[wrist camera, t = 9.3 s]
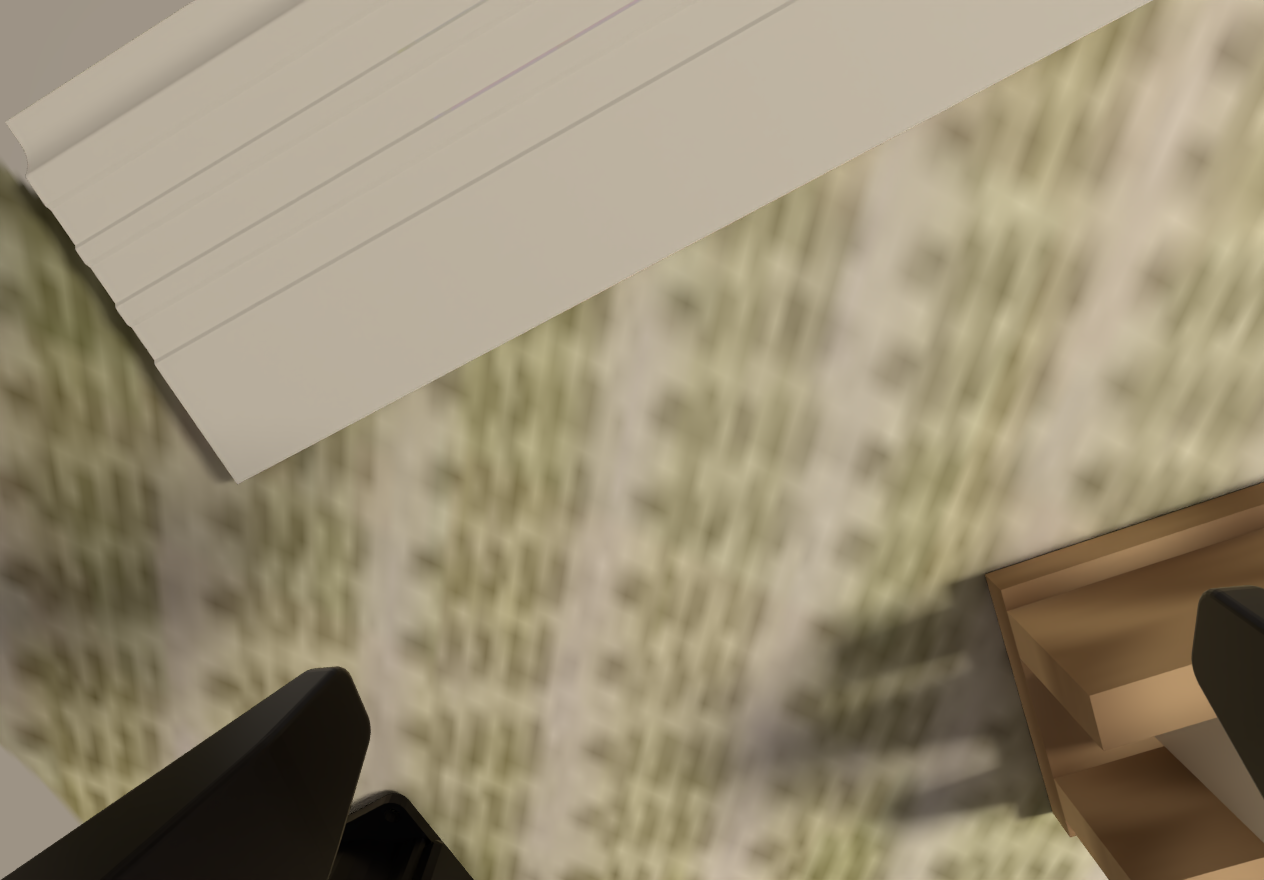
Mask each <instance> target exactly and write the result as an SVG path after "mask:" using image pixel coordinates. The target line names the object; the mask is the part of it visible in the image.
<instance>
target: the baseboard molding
mask: <svg viewBox="0 0 1264 880" xmlns="http://www.w3.org/2000/svg"><path fill="white" fill-rule="evenodd" d="M1150 1H1152V0H194V1H192V2H191V3H189V4H188V5H186V6H185V7H183V8H181V9H180V10H178V11H177V12H175V13H174V14H172V15H171V16H169V17H168V18H166V19H164V20H163V21H161V22H160V23H158V24H157V25H155V26H153V27H152V28H150V29H149V30H147V31H146V32H144V33H142V34H141V35H139V36H138V37H136V38H135V39H133V40H132V41H130V42H129V43H127V44H126V45H124V46H122V47H121V48H119V49H118V50H116V51H114V52H113V53H111V54H110V55H108V56H107V57H105V58H104V59H102V60H101V61H99V62H97V63H96V64H94V65H93V66H91V67H90V68H88V69H87V70H85V71H83V72H82V73H80V74H79V75H77V76H76V77H74V78H72V79H71V80H69V81H68V82H66V83H65V84H63V85H62V86H60V87H58V88H57V89H55V90H54V91H52V92H51V93H49V94H48V95H46V96H44V97H43V98H41V99H40V100H38V101H37V102H35V103H34V104H32V105H30V106H29V107H27V108H26V109H24V110H23V111H21V112H20V113H18V114H17V115H15V116H13V117H12V118H10V119H9V120H7V121H6V124H7V126H8V127H9V129H10V130H11V132H12V133H13V135H14V136H15V137H16V139H17V140H18V142H19V143H20V144H21V146H22V148H23V149H24V151H25V154H26V157H27V162H28V168H27V173H26V175H25V177H26V179H27V180H28V181H29V183H30V184H31V186H32V187H33V189H34V190H35V192H36V193H37V195H38V196H39V198H40V199H41V200H42V202H43V203H44V205H45V206H46V207H47V208H49V209H50V210H51V211H52V212H53V214H54V215H55V217H56V218H57V220H58V221H59V223H60V224H61V226H62V227H63V228H64V230H65V231H66V233H67V234H68V236H69V237H70V239H71V240H72V242H73V243H74V244H75V250H76V251H77V253H78V254H79V256H80V257H81V258H82V260H83V261H84V263H85V264H86V265H88V266H89V267H90V268H91V269H92V271H93V272H94V273H95V275H96V276H97V278H98V279H99V281H100V282H101V284H102V285H103V287H104V288H105V289H106V291H107V292H108V294H109V295H110V297H111V298H112V300H113V301H114V303H115V308H116V309H117V311H118V312H119V314H120V315H121V316H122V318H123V319H124V321H125V322H126V324H127V325H128V326H130V327H131V328H132V329H133V330H134V332H135V333H136V334H137V336H138V337H139V339H140V340H141V342H142V343H143V345H144V346H145V348H146V349H147V350H148V352H149V353H150V355H151V356H152V358H153V359H154V363H155V366H156V367H157V369H158V370H159V372H160V373H161V374H162V376H163V377H164V379H165V380H166V382H167V383H168V385H169V386H170V388H171V389H172V390H173V392H174V393H175V395H176V396H177V398H178V399H179V401H180V402H181V403H182V405H183V406H184V408H185V409H186V411H187V412H188V414H189V415H190V417H191V418H192V419H193V421H194V422H195V424H196V425H197V427H198V428H199V430H200V431H201V432H202V434H203V435H204V437H205V438H206V440H207V441H208V443H209V444H210V445H211V447H212V448H213V450H214V451H215V453H216V454H217V456H218V457H219V459H220V460H221V461H222V463H223V464H224V466H225V467H226V469H227V470H228V472H229V473H230V474H231V476H232V477H233V479H234V480H235V482H236V483H237V484H239V483H241V482H243V481H245V480H247V479H249V478H250V477H252V476H254V475H256V474H258V473H260V472H262V471H264V470H266V469H267V468H269V467H271V466H273V465H275V464H277V463H279V462H281V461H283V460H284V459H286V458H288V457H290V456H292V455H294V454H296V453H298V452H300V451H302V450H303V449H305V448H307V447H309V446H311V445H313V444H315V443H317V442H319V441H320V440H322V439H324V438H326V437H328V436H330V435H332V434H334V433H336V432H337V431H339V430H341V429H343V428H345V427H347V426H349V425H351V424H353V423H354V422H356V421H358V420H360V419H362V418H364V417H366V416H368V415H370V414H371V413H373V412H375V411H377V410H379V409H381V408H383V407H385V406H387V405H388V404H390V403H392V402H394V401H396V400H398V399H400V398H402V397H404V396H405V395H407V394H409V393H411V392H413V391H415V390H417V389H419V388H421V387H423V386H424V385H426V384H428V383H430V382H432V381H434V380H436V379H438V378H440V377H441V376H443V375H445V374H447V373H449V372H451V371H453V370H455V369H457V368H458V367H460V366H462V365H464V364H466V363H468V362H470V361H472V360H474V359H475V358H477V357H479V356H481V355H483V354H485V353H487V352H489V351H491V350H492V349H494V348H496V347H498V346H500V345H502V344H504V343H506V342H508V341H509V340H511V339H513V338H515V337H517V336H519V335H521V334H523V333H525V332H527V331H528V330H530V329H532V328H534V327H536V326H538V325H540V324H542V323H544V322H545V321H547V320H549V319H551V318H553V317H555V316H557V315H559V314H561V313H562V312H564V311H566V310H568V309H570V308H572V307H574V306H576V305H578V304H579V303H581V302H583V301H585V300H587V299H589V298H591V297H593V296H595V295H596V294H598V293H600V292H602V291H604V290H606V289H608V288H610V287H612V286H613V285H615V284H617V283H619V282H621V281H623V280H625V279H627V278H629V277H631V276H632V275H634V274H636V273H638V272H640V271H642V270H644V269H646V268H648V267H649V266H651V265H653V264H655V263H657V262H659V261H661V260H663V259H665V258H666V257H668V256H670V255H672V254H674V253H676V252H678V251H680V250H682V249H683V248H685V247H687V246H689V245H691V244H693V243H695V242H697V241H699V240H700V239H702V238H704V237H706V236H708V235H710V234H712V233H714V232H716V231H717V230H719V229H721V228H723V227H725V226H727V225H729V224H731V223H733V222H734V221H736V220H738V219H740V218H742V217H744V216H746V215H748V214H750V213H752V212H753V211H755V210H757V209H759V208H761V207H763V206H765V205H767V204H769V203H770V202H772V201H774V200H776V199H778V198H780V197H782V196H784V195H786V194H787V193H789V192H791V191H793V190H795V189H797V188H799V187H801V186H803V185H804V184H806V183H808V182H810V181H812V180H814V179H816V178H818V177H820V176H821V175H823V174H825V173H827V172H829V171H831V170H833V169H835V168H837V167H838V166H840V165H842V164H844V163H846V162H848V161H850V160H852V159H854V158H856V157H857V156H859V155H861V154H863V153H865V152H867V151H869V150H871V149H873V148H874V147H876V146H878V145H880V144H882V143H884V142H886V141H888V140H890V139H891V138H893V137H895V136H897V135H899V134H901V133H903V132H905V131H907V130H908V129H910V128H912V127H914V126H916V125H918V124H920V123H922V122H924V121H925V120H927V119H929V118H931V117H933V116H935V115H937V114H939V113H941V112H942V111H944V110H946V109H948V108H950V107H952V106H954V105H956V104H958V103H960V102H961V101H963V100H965V99H967V98H969V97H971V96H973V95H975V94H977V93H978V92H980V91H982V90H984V89H986V88H988V87H990V86H992V85H994V84H995V83H997V82H999V81H1001V80H1003V79H1005V78H1007V77H1009V76H1011V75H1012V74H1014V73H1016V72H1018V71H1020V70H1022V69H1024V68H1026V67H1028V66H1029V65H1031V64H1033V63H1035V62H1037V61H1039V60H1041V59H1043V58H1045V57H1046V56H1048V55H1050V54H1052V53H1054V52H1056V51H1058V50H1060V49H1062V48H1064V47H1065V46H1067V45H1069V44H1071V43H1073V42H1075V41H1077V40H1079V39H1081V38H1082V37H1084V36H1086V35H1088V34H1090V33H1092V32H1094V31H1096V30H1098V29H1099V28H1101V27H1103V26H1105V25H1107V24H1109V23H1111V22H1113V21H1115V20H1116V19H1118V18H1120V17H1122V16H1124V15H1126V14H1128V13H1130V12H1132V11H1133V10H1135V9H1137V8H1139V7H1141V6H1143V5H1145V4H1147V3H1149V2H1150Z"/></svg>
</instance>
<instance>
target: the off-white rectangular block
mask: <svg viewBox="0 0 1264 880" xmlns="http://www.w3.org/2000/svg"><path fill="white" fill-rule="evenodd" d="M1155 737H1156V738H1157V739H1158V740H1159V741H1160V742H1161V743H1162V744H1163V745H1164V746H1165V747H1166V748H1167V749H1168V750H1169V751H1170V752H1171V753H1172V754H1173V755H1174V756H1175V757H1176V758H1177V759H1178V760H1179V761H1180V762H1181V763H1182V764H1183V765H1184V766H1185V767H1186V768H1187V769H1188V770H1189V771H1190V772H1191V773H1192V774H1194V775H1195V776H1196V777H1197V778H1198V779H1199V780H1200V781H1201V782H1202V783H1203V784H1204V785H1205V786H1206V787H1207V788H1208V789H1209V790H1210V791H1211V792H1212V793H1213V794H1214V795H1215V796H1216V797H1217V798H1218V799H1219V800H1220V801H1221V802H1222V803H1223V804H1224V805H1225V806H1226V807H1227V808H1228V809H1229V810H1230V811H1231V812H1233V813H1234V814H1235V815H1236V816H1237V817H1238V818H1239V819H1240V820H1241V821H1242V822H1243V823H1244V824H1245V825H1246V826H1247V827H1248V828H1249V829H1250V830H1251V831H1252V832H1253V833H1254V834H1255V835H1256V836H1257V837H1258V838H1259V839H1260V840H1261V841H1262V842H1263V843H1264V799H1263V798H1262V796H1261V794H1260V792H1259V791H1258V789H1257V787H1256V785H1255V783H1254V782H1253V780H1252V778H1251V776H1250V775H1249V773H1248V771H1247V769H1246V767H1245V766H1244V764H1243V762H1242V760H1241V759H1240V757H1239V755H1238V753H1237V751H1236V750H1235V748H1234V746H1233V744H1232V743H1231V741H1230V739H1229V737H1228V735H1227V734H1226V732H1225V730H1224V728H1223V727H1222V725H1221V723H1220V721H1219V719H1218V718H1213V719H1210V720H1207V721H1203V722H1200V723H1197V724H1193V725H1190V726H1187V727H1183V728H1180V729H1177V730H1173V731H1170V732H1167V733H1163V734H1160V735H1157V736H1155Z"/></svg>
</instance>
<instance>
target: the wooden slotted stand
mask: <svg viewBox="0 0 1264 880" xmlns="http://www.w3.org/2000/svg"><path fill="white" fill-rule="evenodd" d="M985 576H986V580H987V583H988V587H989V590H990V594H991V597H992V601H993V604H994V608H995V611H996V615H997V618H998V622H999V626H1000V629H1001V633H1002V636H1003V640H1004V643H1005V647H1006V650H1007V654H1008V657H1009V661H1010V664H1011V668H1012V671H1013V675H1014V678H1015V682H1016V685H1017V689H1018V692H1019V696H1020V699H1021V703H1022V706H1023V710H1024V713H1025V717H1026V720H1027V724H1028V727H1029V731H1030V734H1031V738H1032V741H1033V745H1034V748H1035V752H1036V755H1037V759H1038V762H1039V766H1040V769H1041V773H1042V776H1043V780H1044V783H1045V787H1046V790H1047V794H1048V797H1049V801H1050V804H1051V808H1052V811H1053V814H1054V815H1055V817H1056V818H1057V819H1058V821H1059V822H1060V824H1061V825H1062V826H1063V828H1064V829H1065V831H1066V832H1067V833H1068V835H1069V836H1070V837H1073V836H1077V837H1078V838H1079V839H1080V841H1081V842H1082V843H1083V845H1084V846H1085V848H1086V849H1087V850H1088V852H1089V853H1090V854H1091V856H1092V857H1093V859H1094V860H1095V861H1096V863H1097V864H1098V865H1099V867H1100V868H1101V870H1102V871H1103V872H1104V874H1105V875H1106V876H1107V878H1108V879H1109V880H1264V843H1263V842H1262V841H1261V840H1260V839H1259V838H1258V837H1257V836H1256V835H1255V834H1254V833H1253V832H1252V831H1251V830H1250V829H1249V828H1248V827H1247V826H1246V825H1245V824H1244V823H1243V822H1242V821H1241V820H1240V819H1239V818H1238V817H1237V816H1236V815H1235V814H1234V813H1233V812H1231V811H1230V810H1229V809H1228V808H1227V807H1226V806H1225V805H1224V804H1223V803H1222V802H1221V801H1220V800H1219V799H1218V798H1217V797H1216V796H1215V795H1214V794H1213V793H1212V792H1211V791H1210V790H1209V789H1208V788H1207V787H1206V786H1205V785H1204V784H1203V783H1202V782H1201V781H1200V780H1199V779H1198V778H1197V777H1196V776H1195V775H1194V774H1192V773H1191V772H1190V771H1189V770H1188V769H1187V768H1186V767H1185V766H1184V765H1183V764H1182V763H1181V762H1180V761H1179V760H1178V759H1177V758H1176V757H1175V756H1174V755H1173V754H1172V753H1171V752H1170V751H1169V750H1168V749H1167V748H1166V747H1165V746H1164V745H1163V744H1162V743H1161V742H1160V741H1159V740H1158V739H1157V738H1156V737H1155V736H1157V735H1160V734H1163V733H1167V732H1170V731H1173V730H1177V729H1180V728H1183V727H1187V726H1190V725H1193V724H1197V723H1200V722H1203V721H1207V720H1210V719H1213V718H1217V716H1216V714H1215V712H1214V711H1213V709H1212V707H1211V705H1210V703H1209V702H1208V700H1207V698H1206V696H1205V695H1204V693H1203V691H1202V689H1201V687H1200V686H1199V684H1198V682H1197V680H1196V677H1195V674H1194V671H1193V667H1192V660H1191V654H1192V646H1193V638H1194V631H1195V623H1196V615H1197V608H1198V602H1199V598H1200V597H1201V595H1202V593H1204V592H1205V591H1206V590H1208V589H1211V588H1220V587H1231V586H1242V585H1253V586H1258V587H1261V588H1264V482H1263V483H1260V484H1257V485H1254V486H1251V487H1248V488H1245V489H1242V490H1239V491H1236V492H1233V493H1230V494H1227V495H1224V496H1221V497H1218V498H1215V499H1212V500H1209V501H1206V502H1203V503H1200V504H1197V505H1194V506H1191V507H1188V508H1185V509H1182V510H1179V511H1176V512H1172V513H1169V514H1166V515H1163V516H1160V517H1157V518H1154V519H1151V520H1148V521H1145V522H1142V523H1139V524H1136V525H1133V526H1130V527H1127V528H1124V529H1121V530H1118V531H1115V532H1112V533H1109V534H1106V535H1103V536H1100V537H1097V538H1094V539H1091V540H1088V541H1085V542H1082V543H1079V544H1076V545H1073V546H1069V547H1066V548H1063V549H1060V550H1057V551H1054V552H1051V553H1048V554H1045V555H1042V556H1039V557H1036V558H1033V559H1030V560H1027V561H1024V562H1021V563H1018V564H1015V565H1012V566H1009V567H1006V568H1003V569H1000V570H997V571H994V572H991V573H988V574H985Z"/></svg>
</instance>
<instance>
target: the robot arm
mask: <svg viewBox="0 0 1264 880" xmlns="http://www.w3.org/2000/svg"><path fill="white" fill-rule="evenodd" d="M1191 660H1192V667H1193V671H1194V674H1195V677H1196V680H1197V682H1198V684H1199V686H1200V687H1201V689H1202V691H1203V693H1204V695H1205V696H1206V698H1207V700H1208V702H1209V703H1210V705H1211V707H1212V709H1213V711H1214V712H1215V714H1216V716H1217V718H1218V719H1219V721H1220V723H1221V725H1222V727H1223V728H1224V730H1225V732H1226V734H1227V735H1228V737H1229V739H1230V741H1231V743H1232V744H1233V746H1234V748H1235V750H1236V751H1237V753H1238V755H1239V757H1240V759H1241V760H1242V762H1243V764H1244V766H1245V767H1246V769H1247V771H1248V773H1249V775H1250V776H1251V778H1252V780H1253V782H1254V783H1255V785H1256V787H1257V789H1258V791H1259V792H1260V794H1261V796H1262V798H1263V799H1264V588H1261V587H1258V586H1253V585H1242V586H1231V587H1220V588H1211V589H1208V590H1206V591H1205V592H1204V593H1202V595H1201V597H1200V598H1199V602H1198V608H1197V615H1196V623H1195V631H1194V638H1193V646H1192V654H1191ZM370 733H371V727H370V721H369V717H368V714H367V712H366V710H365V708H364V705H363V703H362V701H361V698H360V696H359V694H358V691H357V689H356V687H355V684H354V682H353V680H352V677H351V675H350V674H349V672H348V671H347V670H346V669H344V668H342V667H326V668H315V669H310V670H307V671H306V672H304V673H302V674H301V675H299V676H298V677H296V678H295V679H294V680H292V681H291V682H289V683H288V684H286V685H285V686H283V687H282V688H280V689H279V690H277V691H276V692H275V693H273V694H272V695H270V696H269V697H267V698H266V699H264V700H263V701H261V702H260V703H258V704H257V705H256V706H254V707H253V708H251V709H250V710H248V711H247V712H245V713H244V714H242V715H241V716H239V717H238V718H237V719H235V720H234V721H232V722H231V723H229V724H228V725H226V726H225V727H223V728H222V729H220V730H219V731H218V732H216V733H215V734H213V735H212V736H210V737H209V738H207V739H206V740H204V741H203V742H202V743H200V744H199V745H197V746H196V747H194V748H193V749H191V750H190V751H188V752H187V753H185V754H184V755H183V756H181V757H180V758H178V759H177V760H175V761H174V762H172V763H171V764H169V765H168V766H166V767H165V768H164V769H162V770H161V771H159V772H158V773H156V774H155V775H153V776H152V777H150V778H149V779H147V780H146V781H145V782H143V783H142V784H140V785H139V786H137V787H136V788H134V789H133V790H131V791H130V792H128V793H127V794H126V795H124V796H123V797H121V798H120V799H118V800H117V801H115V802H114V803H112V804H111V805H109V806H108V807H107V808H105V809H104V810H102V811H101V812H99V813H98V814H96V815H95V816H93V817H92V818H90V819H89V820H88V821H86V822H85V823H83V824H82V825H80V826H79V827H77V828H76V829H74V830H73V831H72V832H70V833H69V834H67V835H66V836H64V837H63V838H61V839H60V840H58V841H57V842H55V843H54V844H53V845H51V846H50V847H48V848H47V849H45V850H44V851H42V852H41V853H39V854H38V855H37V856H35V857H34V858H32V859H31V860H30V861H28V862H26V863H25V864H23V865H22V866H20V867H19V868H17V869H16V870H15V871H13V872H12V873H10V874H9V875H7V876H6V877H4V878H3V879H2V880H474V879H473V878H472V877H471V876H470V875H469V873H468V872H467V871H466V870H465V868H464V867H463V866H462V865H461V863H460V862H459V861H458V860H457V859H456V857H455V856H454V855H453V854H452V852H451V851H450V850H449V849H448V847H447V846H446V845H445V844H444V843H443V841H442V840H441V839H440V838H439V837H438V835H437V834H436V833H435V832H434V830H433V829H432V828H431V827H430V825H429V824H428V823H427V822H426V820H425V819H424V818H423V817H422V816H421V814H420V813H419V812H418V811H417V809H416V808H415V807H414V806H413V804H412V803H411V802H410V801H409V800H408V799H407V798H406V797H405V796H403V795H401V794H394V793H392V794H389V795H386V796H384V797H382V798H381V799H379V800H377V801H375V802H373V803H371V804H369V805H367V806H365V807H363V808H362V809H360V810H358V811H356V812H354V813H352V814H350V815H348V814H349V810H350V807H351V804H352V800H353V797H354V793H355V790H356V786H357V783H358V779H359V776H360V772H361V769H362V766H363V762H364V759H365V755H366V752H367V748H368V745H369V741H370ZM390 809H395V810H397V811H398V812H399V813H395V812H392V811H391V810H390Z"/></svg>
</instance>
